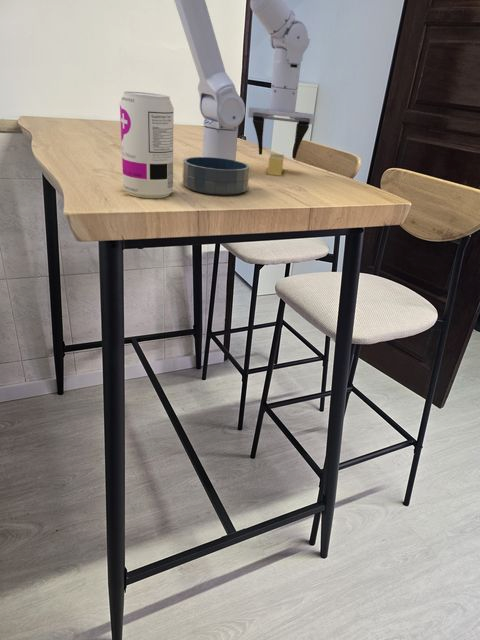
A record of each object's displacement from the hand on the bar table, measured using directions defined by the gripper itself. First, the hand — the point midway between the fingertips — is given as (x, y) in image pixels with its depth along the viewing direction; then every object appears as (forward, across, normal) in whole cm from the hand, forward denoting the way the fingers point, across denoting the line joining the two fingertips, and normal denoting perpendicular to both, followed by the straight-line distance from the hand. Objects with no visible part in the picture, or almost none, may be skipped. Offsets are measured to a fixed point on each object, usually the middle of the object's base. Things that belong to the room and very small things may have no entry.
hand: (277, 155), depth 108 cm
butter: (+4, 0, 0) cm, 4 cm away
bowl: (+3, -12, -23) cm, 26 cm away
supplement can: (+4, -22, -33) cm, 40 cm away
